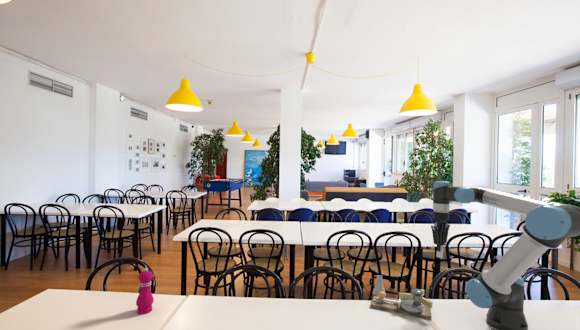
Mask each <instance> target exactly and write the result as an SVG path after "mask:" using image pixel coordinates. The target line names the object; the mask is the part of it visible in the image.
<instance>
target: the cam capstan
mask: <svg viewBox="0 0 580 330" xmlns="http://www.w3.org/2000/svg"><path fill="white" fill-rule="evenodd" d="M424 296H425V289H423V288H421V289H420V288H412V289H411V292H399V291H398V299H401V300H402V301H401V302H400V308H401V309H402V310H403V311H405V312H408V313H412V314H420V313H422V312H423V306H422V304H424V305H425V306H427V307H429V308H431V309H433V302H432V301H430V300H429V299H427V298H425V297H424Z"/></svg>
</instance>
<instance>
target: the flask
mask: <svg viewBox="0 0 580 330" xmlns="http://www.w3.org/2000/svg"><path fill="white" fill-rule="evenodd" d="M380 291H383V292H384V293H385V297H386V296H387V293H386V290H385V286H384V284H383V275H382V274H381V275H379V274H377V275H376V283H375V285H374V287H373V290H372V291H371V292H372V295H373V296H374V295H378V293H379V292H380Z"/></svg>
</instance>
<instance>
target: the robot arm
mask: <svg viewBox="0 0 580 330" xmlns="http://www.w3.org/2000/svg"><path fill="white" fill-rule="evenodd" d="M432 191H433V193H432V195H433V196H432V197H433V198H432V199H433V200H432V202H433V204H432V210H433V211H432V219H433V220H434V223H433V225H430V228H431V231H432V239H433V244H434V245H436V254H435V255H436V258H439V259H443V258H444V246H446V244H447V242H448V235H449V230H450V227H451V224H449V223H448V221H449V220H450V202H453V203H459V204H470V203H479V204H482V205H486V206H490V207H493V208H497V209H500V210H504V211H506V212H511V213H514V214H517V215H520V216H524V217H525V218H524V222H525V223H524V225H523V226H522V230H523V231H522V232H523V233H522V234H521V235H520V236H519V238H518V239H517V240H516V241H515V242H514V243H512V245H511V246H510V248H508V250H506V251H505V253H504V254H503V255H502V256H501V257H500V258H499V259H498V260H497V261H496V263H495V264H494V265H493V266H492V267H491V268H490V269H484V270H482V271H481V272H480V274H478V275H477V276H476V277H475V278H471V279H469V280H467V282H466V284H465V291H466V295H467V298H468V299H469V300H470V301H471V302H470V303H472V304H473V305H474V306H476V307H477V308H480V309H488V310H487V312H486V314H485V315H486V317H485V318H486V322H487V323H488V325H490V326H492V327H494V328H496V329H498V330H529V324H528V321H527V318H526V316H525V313H524V303H525V280H524V279H523V277H522V275H523V274H524V273H526V271H527V270H529V268H531V267H532V266H533V264H535V262H537V261H538V260H539V259H540V258H541V257H542V256H543V254H545V253H546V252H547V251H548V250H549V249H552V250H554V249H555V250H556V249H558V248H559V247H560V246H561V245H562V244H563V243H565V241H566V240H567V239H568V238H574V237H579V236H580V206H577V205H572V204H565V203H560V202H557V201H556V202H555V201H551V202H544V201H542V200H541V201H540V200H536V199H532V198H528V197H524V196H520V195H515V194H511V193H506V192H502V191H498V190H493V189H490V188H488V187H487V186H480V185H479V186H453V185H451V182H450V181H442V180H437V181H434V182H433V188H432Z"/></svg>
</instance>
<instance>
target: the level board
mask: <svg viewBox="0 0 580 330" xmlns="http://www.w3.org/2000/svg"><path fill="white" fill-rule="evenodd" d="M380 299H381V298H379V296H378V295H374V294H373V297H372V300H371V303H370V308H372V309H378V310H382V311H386V312H387V311H388V312H392V313H397V314H401V315H404V316H405V315H406V316H412V317H415V318H421V319H424V320H430V321H432V310H431V309H432V308H429V307H427V306H425V305H424V304H422V303H421V304H422V306H423V312H422V313H420V314H412V313H408V312H405V311H403V310H402V309H401V308H398V305H397V304H394V303H391V302H386V301H381V300H380ZM385 299H390V300H395V301H399V298H394V297H389V296H387V297H386V296H385ZM402 300H403V299H401V301H402Z"/></svg>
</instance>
